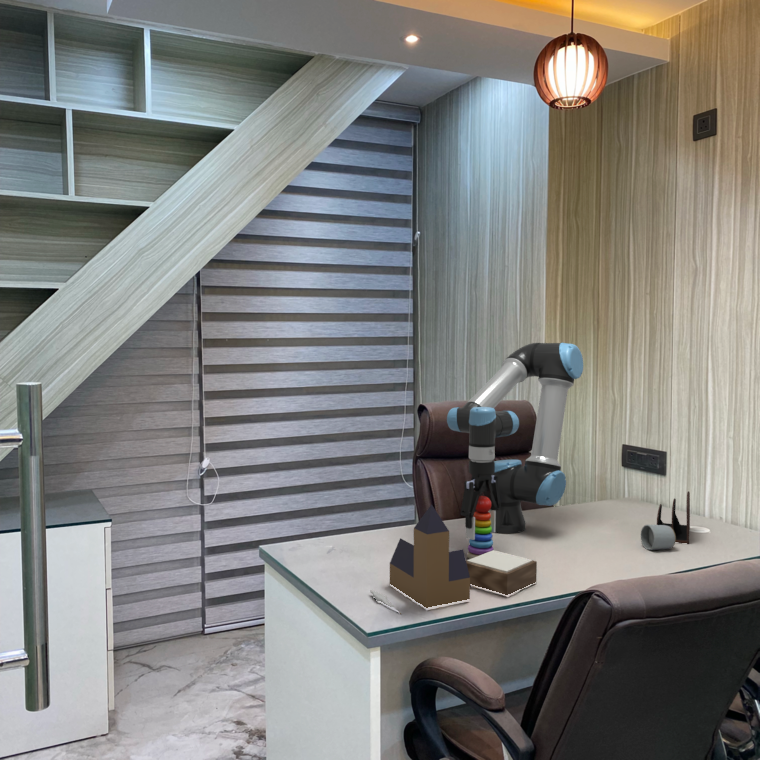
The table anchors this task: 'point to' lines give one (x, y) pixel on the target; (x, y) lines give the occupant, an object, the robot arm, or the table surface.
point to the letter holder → (679, 530)
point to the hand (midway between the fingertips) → (480, 535)
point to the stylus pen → (381, 598)
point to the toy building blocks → (430, 565)
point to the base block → (501, 572)
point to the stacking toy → (481, 529)
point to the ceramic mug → (657, 537)
